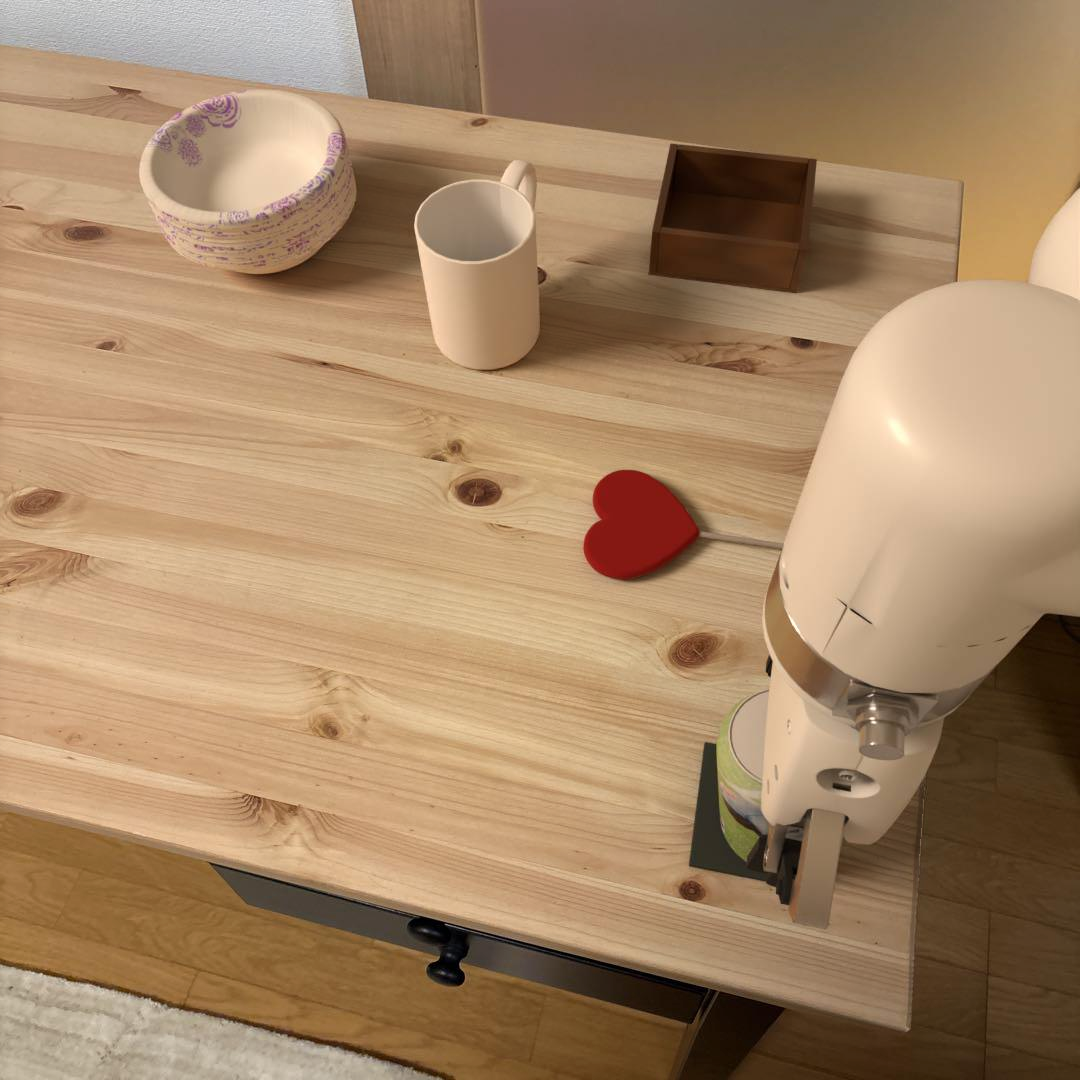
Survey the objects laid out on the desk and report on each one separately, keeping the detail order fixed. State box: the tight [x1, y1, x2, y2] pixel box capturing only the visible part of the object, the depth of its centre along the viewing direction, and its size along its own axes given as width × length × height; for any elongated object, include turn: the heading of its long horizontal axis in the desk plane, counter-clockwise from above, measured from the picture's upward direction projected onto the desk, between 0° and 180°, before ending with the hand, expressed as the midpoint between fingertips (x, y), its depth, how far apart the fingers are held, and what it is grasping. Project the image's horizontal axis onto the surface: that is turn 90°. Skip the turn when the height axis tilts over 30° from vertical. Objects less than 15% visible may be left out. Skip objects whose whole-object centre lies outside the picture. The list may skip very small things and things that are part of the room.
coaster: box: [688, 741, 767, 883], centre depth 55 cm, size 7×7×1 cm
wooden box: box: [648, 142, 818, 294], centre depth 76 cm, size 11×10×4 cm
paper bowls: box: [138, 88, 357, 275], centre depth 77 cm, size 15×15×8 cm
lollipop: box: [582, 469, 784, 580], centre depth 64 cm, size 8×1×15 cm
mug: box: [413, 159, 541, 371], centre depth 70 cm, size 12×8×10 cm, turn 156°
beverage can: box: [716, 687, 804, 862], centre depth 50 cm, size 6×7×12 cm
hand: (789, 767), depth 48 cm, fingers open, 9 cm apart
